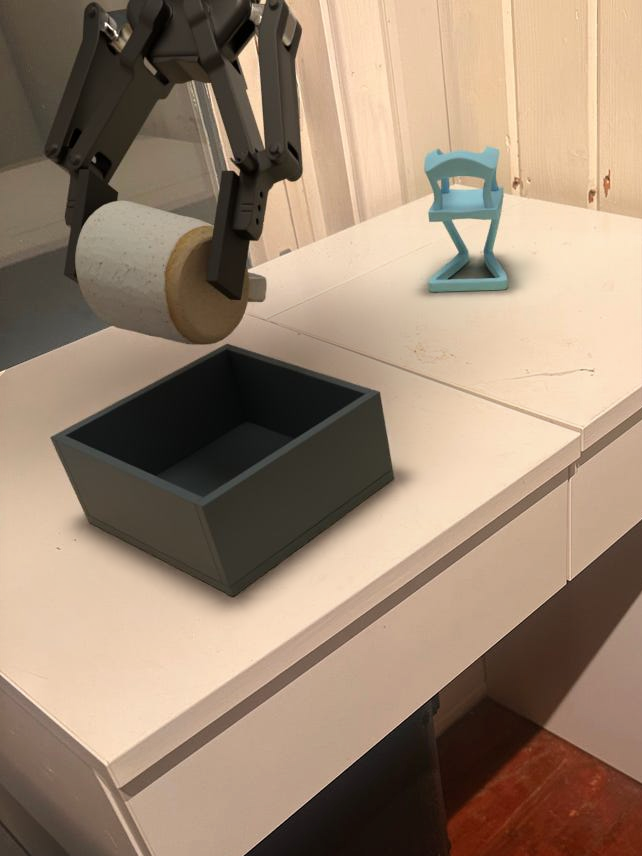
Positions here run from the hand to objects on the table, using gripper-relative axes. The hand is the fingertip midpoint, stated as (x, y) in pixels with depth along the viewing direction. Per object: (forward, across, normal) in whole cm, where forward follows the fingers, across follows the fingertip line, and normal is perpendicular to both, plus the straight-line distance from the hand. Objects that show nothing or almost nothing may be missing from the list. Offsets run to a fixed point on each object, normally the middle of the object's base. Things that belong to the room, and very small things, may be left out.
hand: (152, 287), depth 55 cm
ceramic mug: (+1, 0, -5) cm, 5 cm away
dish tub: (+11, -2, -10) cm, 15 cm away
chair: (-18, -7, -39) cm, 44 cm away
